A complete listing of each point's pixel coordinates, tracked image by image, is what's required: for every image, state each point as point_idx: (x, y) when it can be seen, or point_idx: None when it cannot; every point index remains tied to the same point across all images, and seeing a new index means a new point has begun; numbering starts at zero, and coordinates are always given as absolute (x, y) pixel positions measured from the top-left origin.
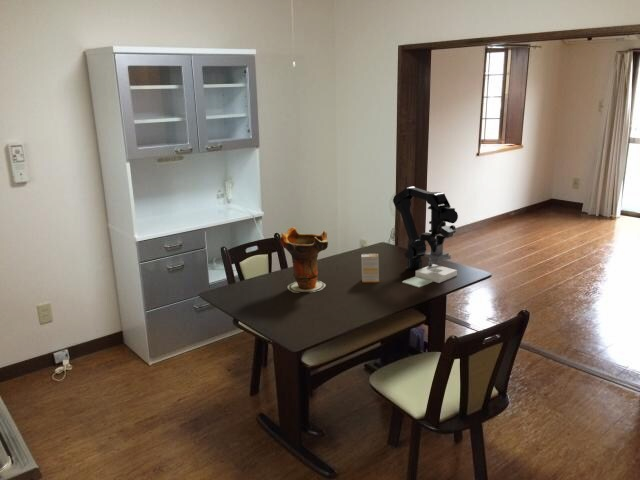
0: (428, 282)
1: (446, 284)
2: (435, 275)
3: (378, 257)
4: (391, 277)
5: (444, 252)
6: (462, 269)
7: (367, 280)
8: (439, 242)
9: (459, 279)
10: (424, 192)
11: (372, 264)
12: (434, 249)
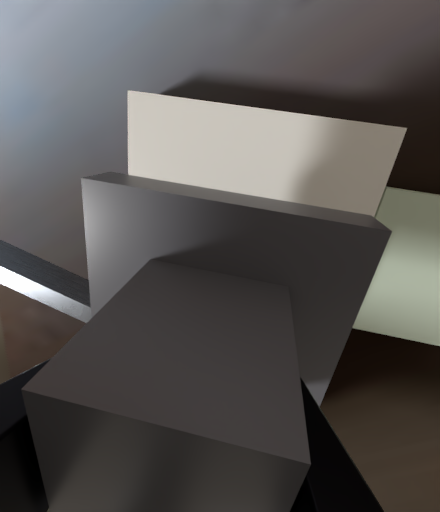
0: (436, 198)
1: (375, 62)
2: (359, 187)
3: None
4: (390, 418)
5: (98, 252)
6: (15, 139)
7: None
8: (8, 498)
9: (202, 33)
10: None
11: None
12: (320, 413)
